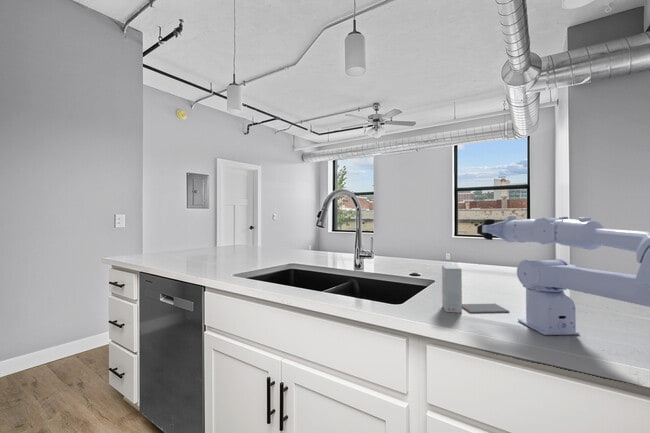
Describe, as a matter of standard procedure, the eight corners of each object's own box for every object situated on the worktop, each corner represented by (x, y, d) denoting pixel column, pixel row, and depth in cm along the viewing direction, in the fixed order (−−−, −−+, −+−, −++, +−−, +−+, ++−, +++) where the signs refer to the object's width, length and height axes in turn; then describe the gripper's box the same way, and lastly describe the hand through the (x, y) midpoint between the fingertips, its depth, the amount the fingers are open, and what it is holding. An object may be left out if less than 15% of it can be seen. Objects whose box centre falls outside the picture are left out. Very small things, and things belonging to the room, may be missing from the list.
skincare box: (462, 313, 84) (462, 268, 83) (445, 312, 84) (445, 268, 84) (457, 306, 89) (457, 265, 89) (442, 306, 90) (441, 264, 90)
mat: (509, 312, 83) (509, 311, 83) (470, 313, 83) (470, 311, 83) (494, 304, 90) (494, 303, 90) (458, 305, 90) (458, 304, 90)
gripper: (550, 217, 80) (514, 219, 93) (497, 212, 79) (468, 215, 92) (549, 244, 80) (513, 242, 93) (496, 240, 78) (467, 239, 92)
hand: (490, 230), depth 93 cm, fingers open, 7 cm apart
